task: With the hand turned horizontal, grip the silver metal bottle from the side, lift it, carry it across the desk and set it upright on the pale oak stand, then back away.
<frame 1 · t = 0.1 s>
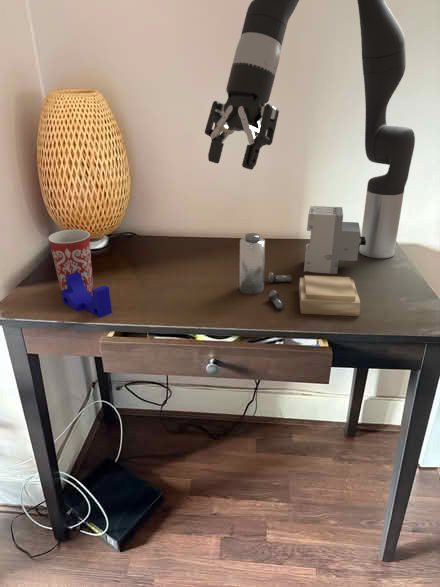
hand: (229, 165, 83), 31 cm above the table, tool tilted 20°, fingers open, 8 cm apart
mug: (78, 288, 113), on the table, touching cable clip
silver metal bottle: (251, 289, 111), on the table
bolt b: (281, 281, 115), on the table
bolt a: (276, 305, 103), on the table
circuit breaker: (332, 268, 122), on the table
stand: (327, 301, 104), on the table
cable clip: (87, 308, 103), on the table, touching mug
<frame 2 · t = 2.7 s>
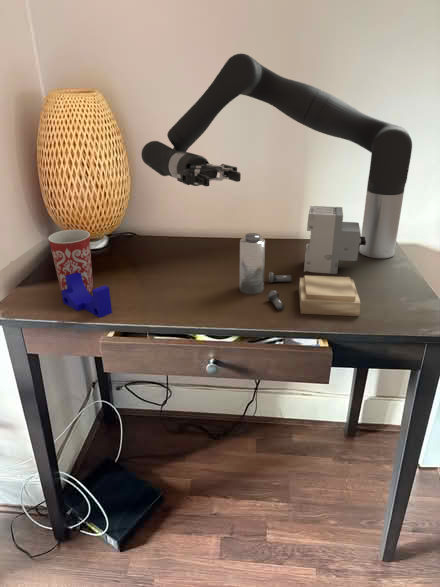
hand: (224, 179, 109), 24 cm above the table, tool horizontal, fingers open, 8 cm apart
nothing on the table moved.
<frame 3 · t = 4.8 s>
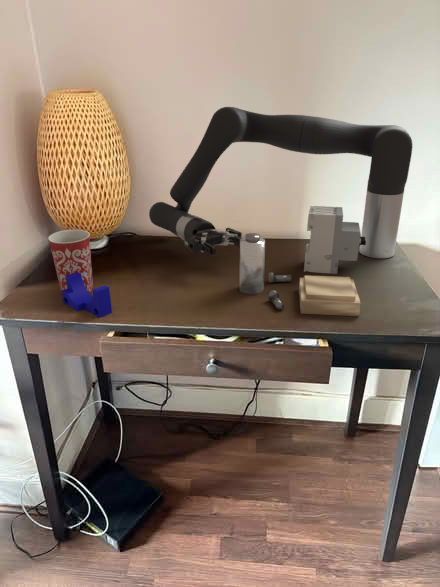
hand: (229, 248, 115), 7 cm above the table, tool horizontal, fingers open, 8 cm apart
nothing on the table moved.
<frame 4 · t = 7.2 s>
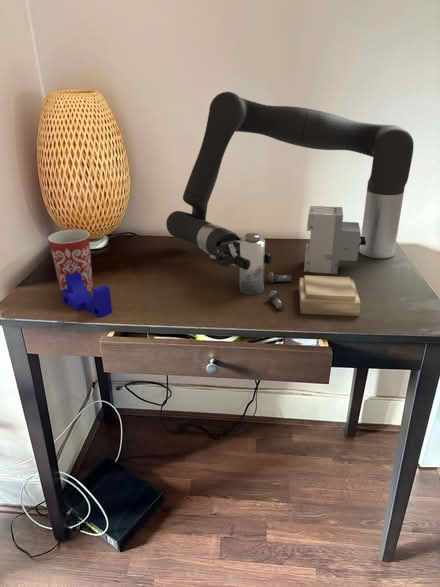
hand: (258, 262, 106), 8 cm above the table, tool horizontal, fingers closed on silver metal bottle, 5 cm apart
silver metal bottle: (251, 289, 111), on the table, touching gripper
everything else where it was.
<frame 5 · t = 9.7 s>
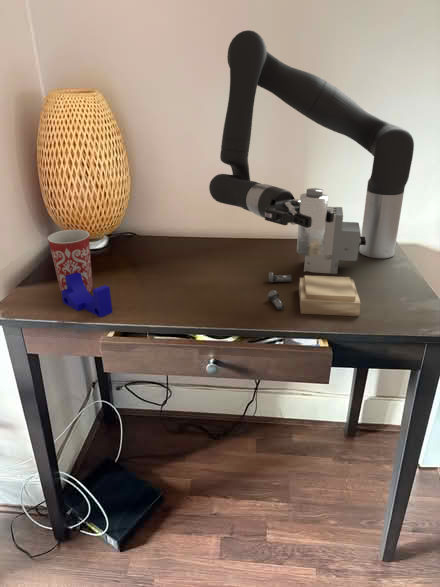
hand: (321, 220, 96), 19 cm above the table, tool horizontal, fingers closed on silver metal bottle, 5 cm apart
silver metal bottle: (310, 251, 101), point 11 cm above the table, touching gripper
everything else where it was.
when the fingers open (12 cm above the table, at t = 12.1 s): silver metal bottle stays where it is, resting on stand.
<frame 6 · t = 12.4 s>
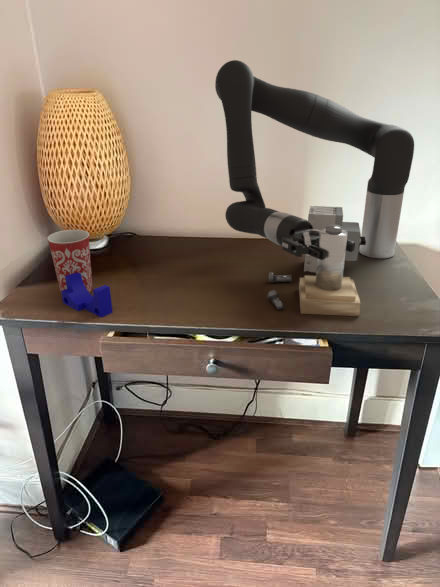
hand: (339, 251, 98), 12 cm above the table, tool horizontal, fingers open, 8 cm apart
silver metal bottle: (328, 285, 103), point 4 cm above the table, touching stand
everything else where it was.
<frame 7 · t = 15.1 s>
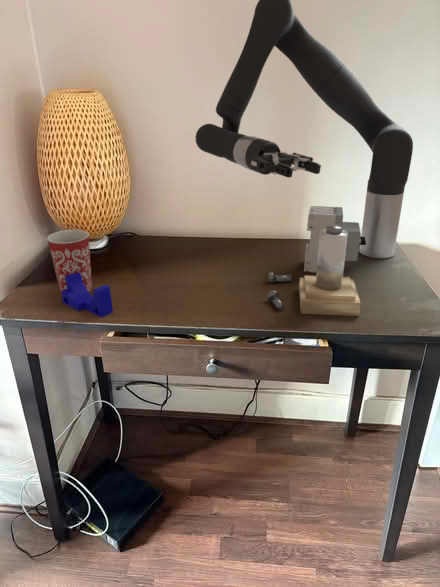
hand: (305, 171, 101), 27 cm above the table, tool horizontal, fingers open, 8 cm apart
nothing on the table moved.
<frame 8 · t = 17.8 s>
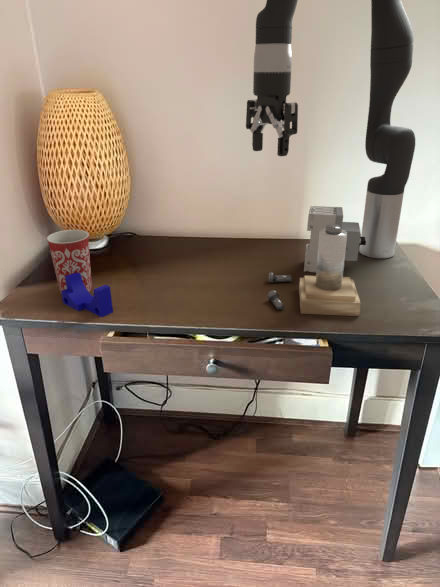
hand: (269, 153, 102), 30 cm above the table, tool pointing down, fingers open, 8 cm apart
nothing on the table moved.
at the end: silver metal bottle inside the target area on the stand (0.1 cm from its centre), point 4.0 cm above the stand's base; silver metal bottle tilted 1°; the gripper is holding nothing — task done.
